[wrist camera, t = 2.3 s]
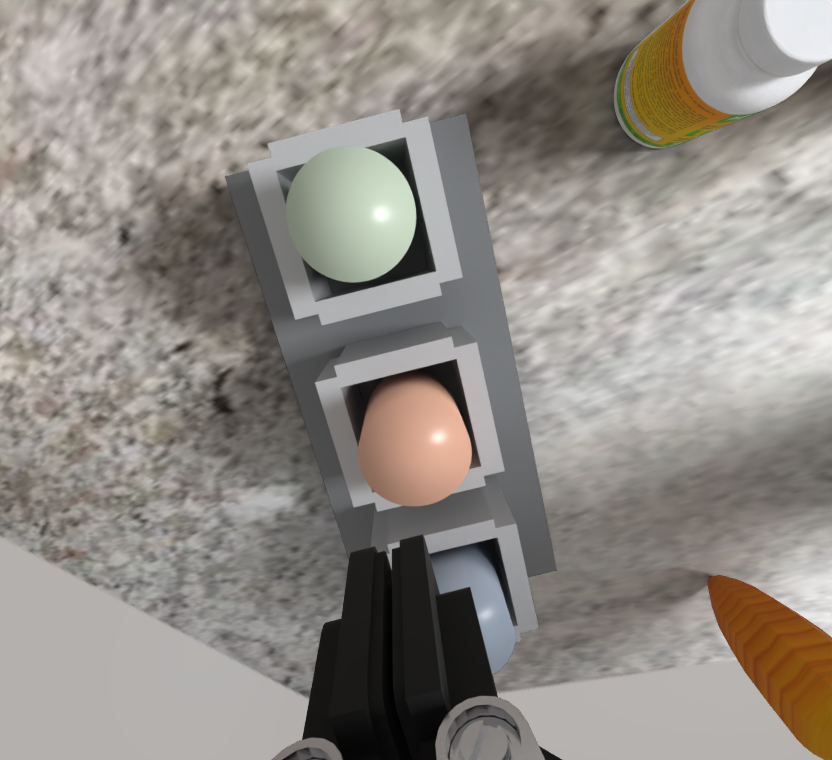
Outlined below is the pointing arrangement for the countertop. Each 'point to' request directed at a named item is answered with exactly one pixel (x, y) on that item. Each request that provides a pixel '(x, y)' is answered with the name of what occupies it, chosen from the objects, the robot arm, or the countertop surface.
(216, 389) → the countertop surface
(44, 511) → the countertop surface
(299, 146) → the three-cup grey tray
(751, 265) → the countertop surface
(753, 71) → the supplement bottle
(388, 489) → the button terracotta
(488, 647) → the button slate
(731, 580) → the carrot
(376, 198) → the button sage
